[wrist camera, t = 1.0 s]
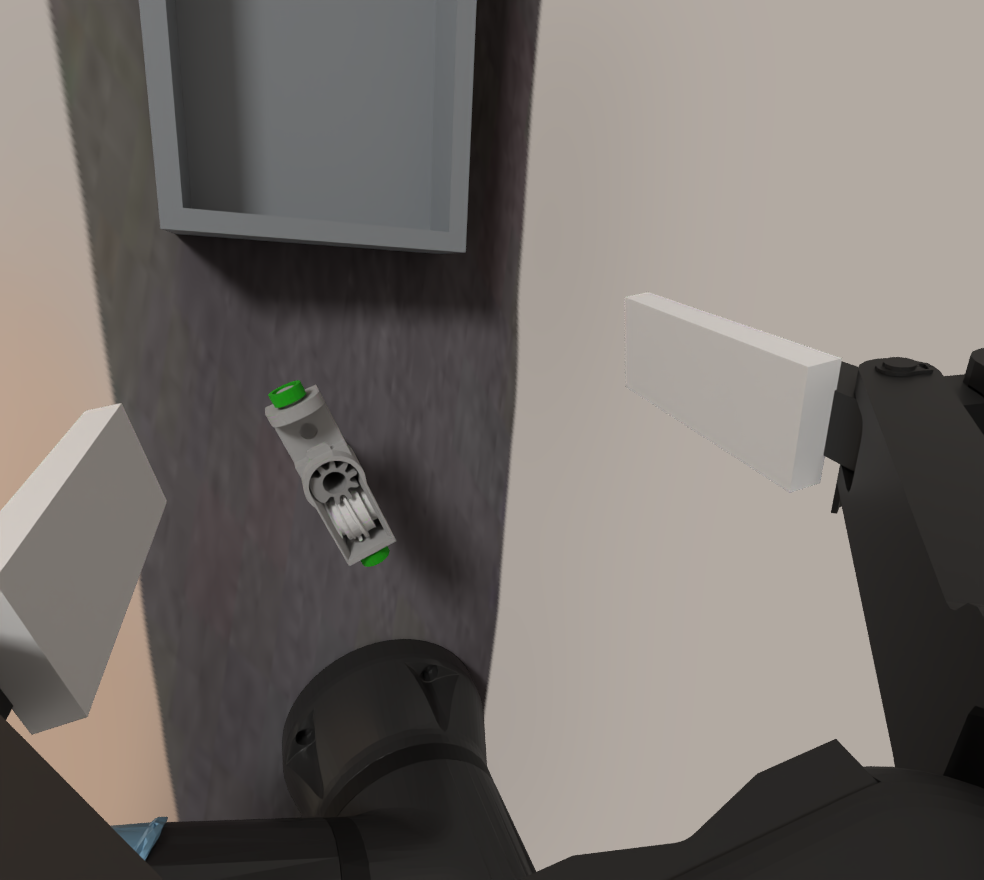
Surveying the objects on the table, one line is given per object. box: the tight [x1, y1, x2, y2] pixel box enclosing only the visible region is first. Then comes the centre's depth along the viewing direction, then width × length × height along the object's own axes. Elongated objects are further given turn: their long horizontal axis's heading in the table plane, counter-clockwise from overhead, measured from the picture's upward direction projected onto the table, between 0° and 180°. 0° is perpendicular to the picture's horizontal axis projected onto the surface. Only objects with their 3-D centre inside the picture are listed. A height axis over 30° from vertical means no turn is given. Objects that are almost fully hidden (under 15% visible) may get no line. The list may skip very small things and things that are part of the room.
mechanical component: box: [265, 381, 396, 567], centre depth 32 cm, size 3×10×10 cm, turn 21°
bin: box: [139, 0, 477, 254], centre depth 28 cm, size 22×15×5 cm
